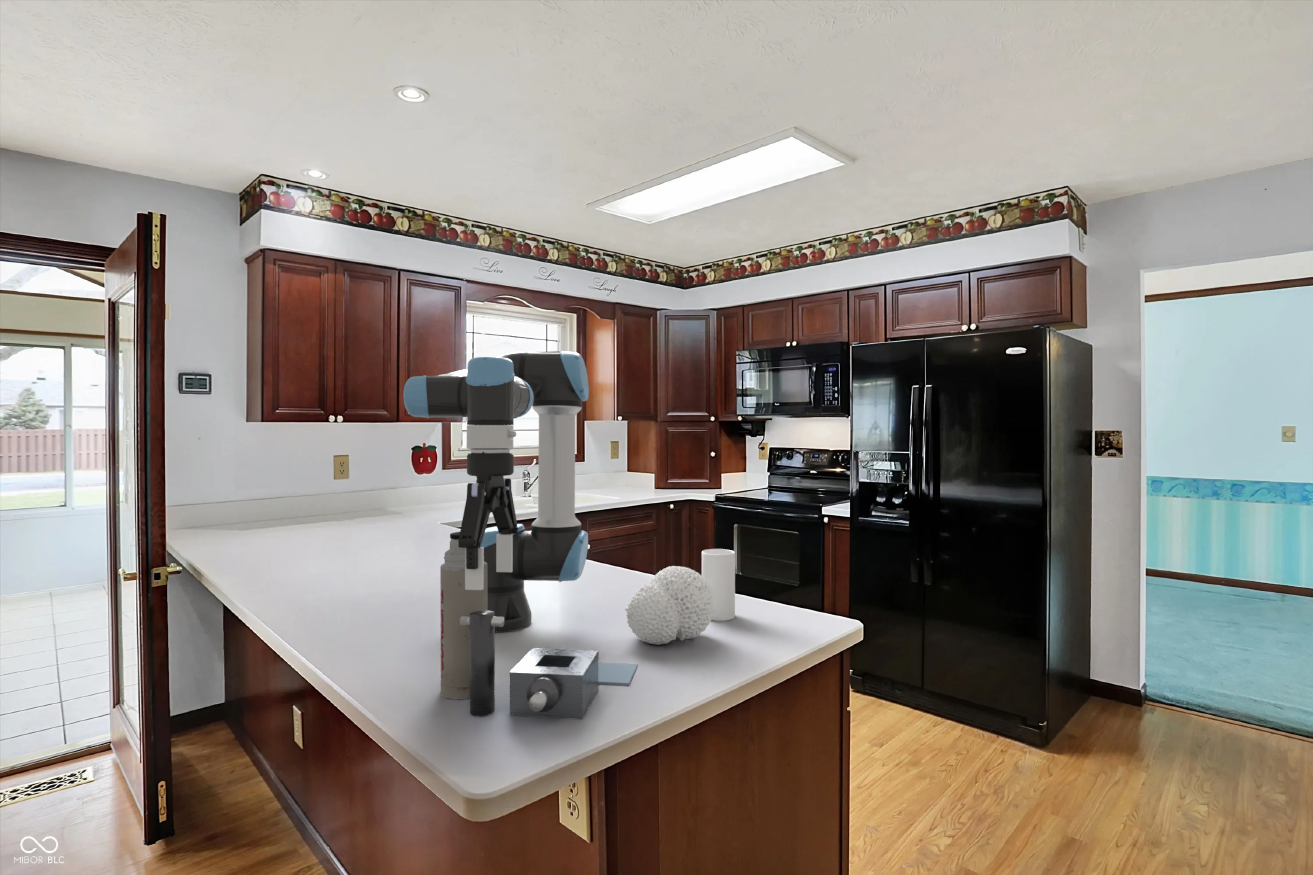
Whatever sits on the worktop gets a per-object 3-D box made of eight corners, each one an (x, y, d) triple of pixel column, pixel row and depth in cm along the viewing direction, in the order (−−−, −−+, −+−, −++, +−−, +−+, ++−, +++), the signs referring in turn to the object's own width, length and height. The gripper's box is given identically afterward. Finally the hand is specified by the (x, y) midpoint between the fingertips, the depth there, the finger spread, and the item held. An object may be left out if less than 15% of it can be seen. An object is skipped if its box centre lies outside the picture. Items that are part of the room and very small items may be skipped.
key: (456, 715, 108) (456, 616, 108) (466, 704, 112) (466, 609, 111) (498, 717, 107) (498, 617, 107) (507, 707, 111) (507, 611, 111)
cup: (733, 621, 161) (733, 555, 160) (699, 619, 162) (699, 554, 162) (736, 612, 169) (736, 549, 169) (703, 610, 170) (703, 548, 170)
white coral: (683, 584, 162) (680, 539, 151) (733, 632, 151) (733, 587, 140) (616, 631, 153) (608, 587, 143) (664, 685, 142) (659, 641, 132)
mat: (574, 682, 122) (574, 680, 122) (587, 663, 132) (587, 661, 132) (629, 685, 120) (629, 682, 120) (637, 665, 130) (637, 663, 130)
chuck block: (498, 728, 103) (498, 683, 103) (532, 686, 119) (532, 647, 119) (574, 733, 101) (574, 687, 101) (598, 690, 118) (598, 650, 118)
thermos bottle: (435, 700, 114) (435, 536, 113) (446, 682, 122) (446, 529, 121) (483, 698, 114) (483, 535, 114) (491, 681, 122) (490, 528, 122)
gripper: (484, 453, 97) (484, 598, 97) (535, 450, 122) (534, 565, 122) (435, 453, 98) (435, 597, 98) (495, 449, 123) (495, 564, 123)
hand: (490, 580), depth 110 cm, fingers open, 13 cm apart
